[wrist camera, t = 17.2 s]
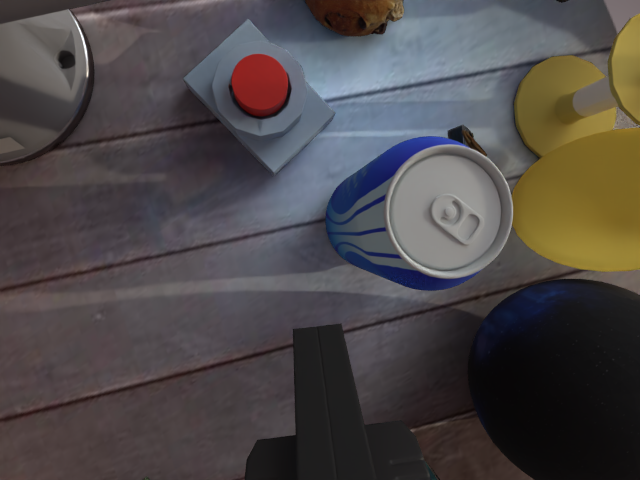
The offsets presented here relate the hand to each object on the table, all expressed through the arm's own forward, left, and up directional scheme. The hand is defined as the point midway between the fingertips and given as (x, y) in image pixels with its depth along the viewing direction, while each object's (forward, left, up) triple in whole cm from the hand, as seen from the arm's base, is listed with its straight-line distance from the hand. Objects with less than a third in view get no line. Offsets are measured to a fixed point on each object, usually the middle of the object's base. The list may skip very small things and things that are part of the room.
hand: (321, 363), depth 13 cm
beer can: (+1, +9, -23) cm, 24 cm away
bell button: (-12, +9, -19) cm, 24 cm away
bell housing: (-12, +9, -22) cm, 27 cm away
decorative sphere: (+19, +10, -22) cm, 31 cm away
